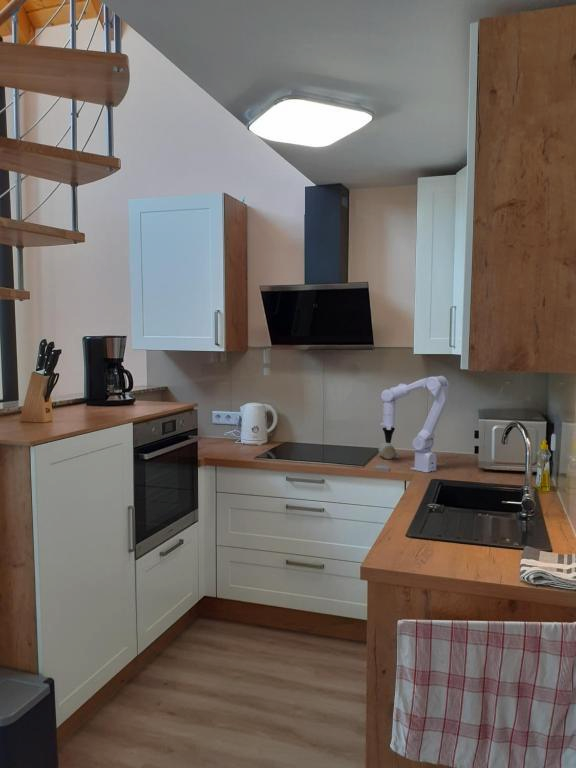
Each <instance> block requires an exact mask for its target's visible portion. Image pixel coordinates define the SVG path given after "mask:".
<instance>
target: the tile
mask: <svg viewBox="0 0 576 768" xmlns="http://www.w3.org/2000/svg"><path fill="white" fill-rule="evenodd" d="M375 472H385V473H386V472H387V473H389V472H390V465H380V464H379V465H378V464H376V465H375Z"/></svg>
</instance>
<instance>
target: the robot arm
mask: <svg viewBox="0 0 576 768" xmlns="http://www.w3.org/2000/svg"><path fill="white" fill-rule="evenodd" d="M449 386H450V384H449V382H448V380H447V378H446V377H445V376H444V375H438V376H429V377H425V378H421V379H418V380H417V381H413V382H412V383H410V384H406V383H399V384H398V385H396V386H395V387H393V386H392V387H390V389H384V390H383V391H382V392H381V396H380V397H381V399H382V402H383V404H382V407H383V408H382V422H381V423H380V426H384V427H382V430H383V433H384V438H385V442H386V443H390V444H392V443H391V442H392V439H393V438H392V437H393V434H394V432H395V430H396V429H395V426H396V405H397V404H396V401H397V400H399V399H401V398H405V397H407V396H409V394H410V393H411V392H413V391H417V390H419V389H422V388H423V389H428V391H429V392H430V393H431V394H432V395H433V397H434V401H433V404H432V406H431V409H430V411H429V413H428V416H427V417H426V420H425V421H424V422H425V423H423V424H424V425H423V426H422V429H421V430H420V431H419V432H418V433H417V436H416V437H415V438H414V439H413V440H412V448H413V449H414V465H413V466H414V467H410V470H413V471H418V472H423V473H431V471H432V472H435V471H438V469H437V454H436V453H435V452H432V448H433V446H434V442H435V431H436V429H437V426H438V424H439V422H440V419H441V417H442V415H443V413H444V410H445V408H446V405H447V404H448V401H449V398H450V397H449Z"/></svg>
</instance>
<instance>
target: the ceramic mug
mask: <svg viewBox="0 0 576 768" xmlns="http://www.w3.org/2000/svg"><path fill="white" fill-rule="evenodd" d="M378 454H379V455H380V456H381V457H382V458H383V459H385V460H392V459H394V458H396V459H401V457H402V456H401V455H400V454H399V453H397V452H396V449H395V447H394V446H393V444H392V443H386V441H385V442H382V443H380V445H379V446H378Z"/></svg>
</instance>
